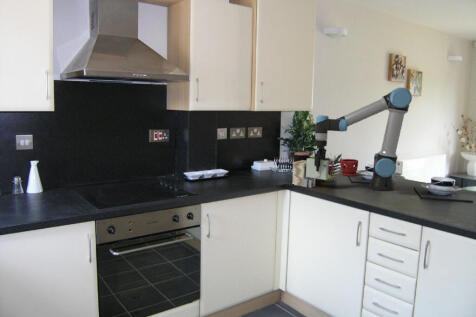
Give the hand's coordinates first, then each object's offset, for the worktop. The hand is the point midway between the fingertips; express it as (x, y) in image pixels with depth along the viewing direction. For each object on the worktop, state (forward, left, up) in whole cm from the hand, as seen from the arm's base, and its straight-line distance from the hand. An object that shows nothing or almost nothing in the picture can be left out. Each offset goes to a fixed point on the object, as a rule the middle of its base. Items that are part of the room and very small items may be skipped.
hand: (319, 175), depth 254 cm
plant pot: (+3, -59, -8) cm, 59 cm away
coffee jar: (+26, -25, -8) cm, 37 cm away
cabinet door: (+2, 0, -2) cm, 2 cm away
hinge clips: (+6, 0, -8) cm, 10 cm away
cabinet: (+14, -5, -8) cm, 17 cm away
